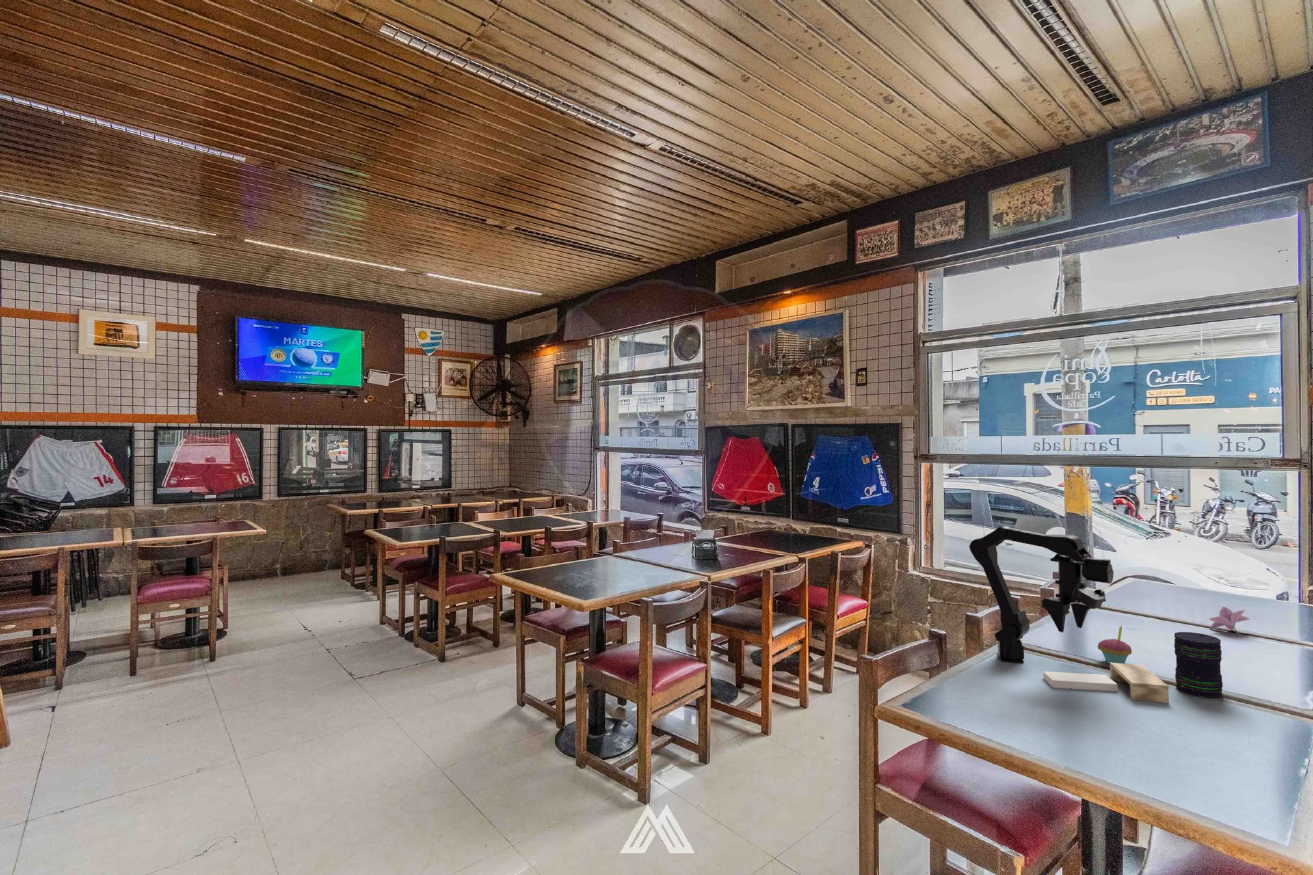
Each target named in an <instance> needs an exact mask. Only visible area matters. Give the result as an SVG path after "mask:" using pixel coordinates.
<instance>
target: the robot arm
mask: <svg viewBox="0 0 1313 875" xmlns="http://www.w3.org/2000/svg"><path fill="white" fill-rule="evenodd" d="M1005 541H1012V542H1016V543H1021V544H1024V545H1025V544H1027V545H1029V546H1030V545H1031V546H1036V547H1041V548H1043V549H1047V550H1049V551H1051V552H1052V553H1054V554H1055V555H1054V556H1053V557H1051V558H1050V560H1049V561H1051V562H1055V563H1056V562H1057V563H1058V579H1055V580H1054V581H1055V583H1054V584H1056V585H1058V592H1056V593H1055V597H1054V596H1049V597H1045V598H1043V599H1042V600H1041V608H1044V610H1045V611H1047V613H1048V614H1049V616H1050V618H1051V620H1052V621H1053V623H1054V625H1055V627H1056V628H1057V630H1058V632H1059V633H1064V632H1065V626H1066V624H1065V623H1066V616H1067V615H1069V614H1070V612H1071V611H1072V614H1073V617H1074V622H1075V624H1076V628H1079V629H1082V628H1083V625H1084V622H1085V620H1086V617H1087V615H1088V613H1089V611H1090V610H1091V609H1092V610H1096V609H1097V608H1099V609H1100V608H1101V607H1102V605H1103V603H1105V602H1107V600H1106V593H1105V590H1103V589H1101V588H1096V589H1095V590H1093V589H1089V588H1087V584H1086V583H1085V582H1084V581H1082V577H1083V578H1084V579H1086V581H1090V582H1096V583H1103V584H1109V585H1110V584H1112V583H1113V580H1114V568H1113V566H1112V562H1111V561H1112V560H1111V559H1107V558H1103V559H1102V558H1093V557H1092V555H1091V554H1090V552H1089V551H1088V550H1087V549H1086V548H1085V546H1084V543H1083V540H1082V539H1081V538H1080V537H1079V536H1078V535H1073V534H1046V533H1041V532H1035V531H1030V530H1025V529H1020V528H1014V527H1010V526H1007V525H1003V526H999V527H997V528H996V529H994V530H993V531H992V532H989V533H988V534H986V535H985V536H982V537H979V538H976V539H975V538H974V539H973V540H972V541H970V544H969V546H968V548H969V551H970V553H971V554H972V556H973V557H974V559H975V560H976V561H977V563H978V564H979V565H980V566H981V567H982V568H983V571H984V574H985V576H986V579H987V580H988V583H989V586H990V588H991V590H992V593H993V596H994V598H995V600H996V602H997V605H998V608H999V611H1000V614H999V616H1000V618H999V620H1000V625H1001V629H999V630H998V631H997V632H995V633H994V637H995V640H996V641H997V653H996V655H997V657H998V658H999V660H1000V661H1001V662H1009V663H1022V664H1024V660H1025V649H1024V648H1025V647H1024V645H1023V643H1022V640H1021V639H1023V637H1024V635H1026V634H1028V632H1029V631H1030V628H1031V626H1030V623H1032V622H1031V621H1030V620H1029V618H1028V615H1027V612H1026V610H1025V609H1024V610H1020V609H1019V608H1018V607H1017V606H1016V604H1015V601H1014V600H1013V597H1012V594H1011V593H1010V589H1009V587H1008V585H1007V582H1006V581H1005V578H1004V576H1003V573H1002V571H1001V568H1000V566H999V563H998V550H997V546H999V545H1001V544H1002V543H1003V542H1005ZM1070 608H1071V611H1070Z"/></svg>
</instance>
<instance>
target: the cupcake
mask: <svg viewBox="0 0 1313 875" xmlns="http://www.w3.org/2000/svg"><path fill="white" fill-rule="evenodd" d="M1122 626H1123V624H1120V626H1119V628H1118V633H1117V634H1118V635H1117V638H1109V639H1107V638H1106V639H1103V640H1100V641H1099V642H1098V645H1097V649H1098V650H1100V652H1101V653H1102V654H1103V657H1104V660H1105V662H1106V661H1107V662H1106V663H1108V662H1112V663H1122V664H1126V662H1127V658H1128V657H1129V655H1132V653H1133V652H1132V650H1133V649H1132V647H1131V646H1130V645H1129V644H1128V643H1127V642H1125V641H1124V640H1123V641H1122V640H1121V636H1122V631H1123V627H1122Z"/></svg>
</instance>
